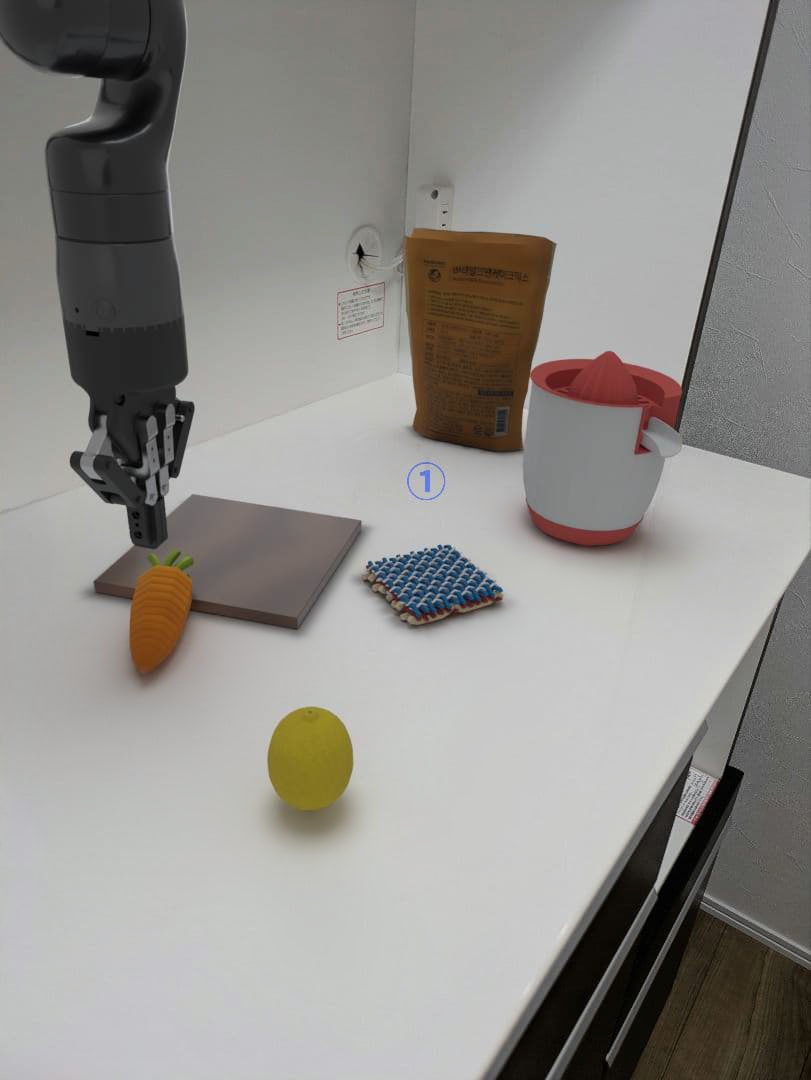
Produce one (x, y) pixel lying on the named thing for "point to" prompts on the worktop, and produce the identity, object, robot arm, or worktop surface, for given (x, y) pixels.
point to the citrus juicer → (596, 446)
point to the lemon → (310, 758)
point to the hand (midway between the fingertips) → (150, 543)
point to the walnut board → (244, 558)
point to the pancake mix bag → (474, 331)
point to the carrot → (159, 610)
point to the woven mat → (432, 584)
